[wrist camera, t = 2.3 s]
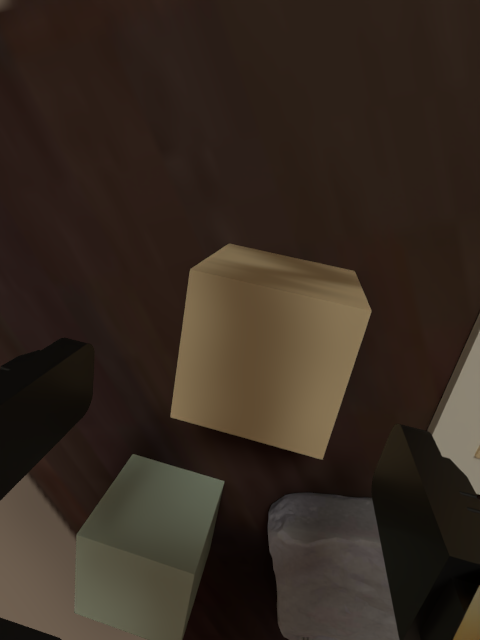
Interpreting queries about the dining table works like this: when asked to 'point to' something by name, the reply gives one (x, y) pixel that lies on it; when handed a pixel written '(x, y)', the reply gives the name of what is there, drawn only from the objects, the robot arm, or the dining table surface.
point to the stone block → (329, 569)
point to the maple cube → (268, 347)
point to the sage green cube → (146, 549)
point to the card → (462, 412)
